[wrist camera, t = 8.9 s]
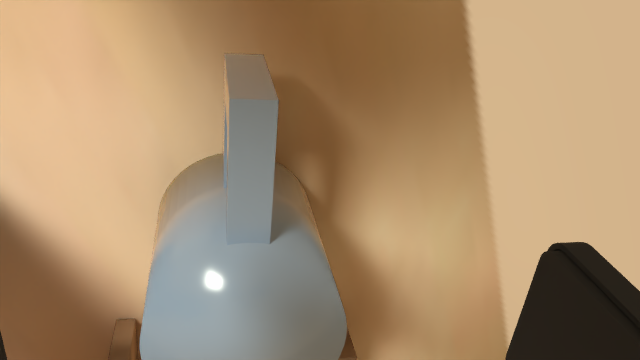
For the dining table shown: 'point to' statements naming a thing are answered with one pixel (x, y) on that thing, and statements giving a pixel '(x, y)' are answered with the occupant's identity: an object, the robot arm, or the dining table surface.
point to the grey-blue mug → (241, 248)
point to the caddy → (126, 349)
